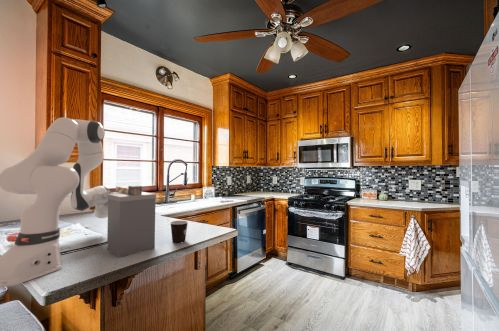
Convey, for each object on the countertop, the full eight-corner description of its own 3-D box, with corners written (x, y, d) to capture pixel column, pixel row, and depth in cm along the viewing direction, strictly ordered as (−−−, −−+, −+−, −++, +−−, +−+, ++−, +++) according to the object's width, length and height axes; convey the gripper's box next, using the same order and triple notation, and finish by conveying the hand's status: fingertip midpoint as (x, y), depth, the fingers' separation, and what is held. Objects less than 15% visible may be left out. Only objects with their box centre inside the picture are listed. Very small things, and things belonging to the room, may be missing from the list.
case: (106, 249, 113) (107, 194, 113) (141, 241, 125) (142, 191, 125) (118, 257, 103) (119, 197, 103) (155, 248, 116) (156, 194, 116)
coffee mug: (179, 237, 133) (180, 219, 133) (190, 240, 128) (191, 222, 128) (161, 243, 123) (162, 223, 123) (172, 246, 118) (172, 226, 118)
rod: (114, 191, 123) (114, 183, 123) (123, 191, 127) (123, 183, 127) (132, 195, 109) (132, 186, 109) (141, 194, 113) (141, 186, 113)
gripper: (87, 198, 125) (95, 186, 117) (128, 195, 140) (137, 184, 133) (89, 210, 123) (97, 198, 115) (130, 205, 138) (140, 195, 130)
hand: (119, 191), depth 124 cm, fingers open, 8 cm apart
